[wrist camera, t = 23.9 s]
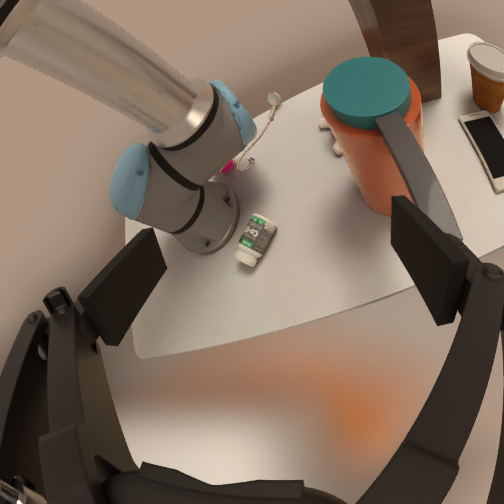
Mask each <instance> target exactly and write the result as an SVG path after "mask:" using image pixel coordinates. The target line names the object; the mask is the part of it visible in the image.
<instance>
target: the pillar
mask: <svg viewBox="0 0 504 504" xmlns="http://www.w3.org/2000/svg"><path fill="white" fill-rule="evenodd" d="M349 2H350V5H351V7H352V9H353V11H354V14H355V16H356V19H357V21H358V24H359V26H360V29H361V31H362V34H363V37H364V39H365V42H366V45H367V48H368V50H369V53H370V56H371V57H378V58H383V59H386V60H389V61H391V62H393V63H395V64H397V65H398V66H399V67H401V68H402V69H403V70H404V72H405V73H406V74H407V76H408V77H410V78H411V79H412V81H413V82H414V83H415V84H416V86H417V87H418V89H419V92H420V95H421V103H425V102H428V101H431V100H434V99H437V98H441V72H440V59H439V49H438V40H437V33H436V26H435V20H434V15H433V9H432V4H431V0H349Z"/></svg>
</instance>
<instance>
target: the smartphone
mask: <svg viewBox="0 0 504 504" xmlns="http://www.w3.org/2000/svg"><path fill="white" fill-rule="evenodd" d="M459 121H460V123H461V124H462V126H463V128H464V129H465V131H466V133H467V135H468V136H469V138H470V140H471V142H472V143H473V145H474V147H475V149H476V151H477V153H478V155H479V157H480V159H481V161H482V163H483V165H484V167H485V169H486V171H487V173H488V175H489V178H490V180H491V182H492V184H493V187H494V189H495V191H496V192H501V191H504V137H503V135H502V133H501V132H500V130H499V128H498V127H497V125H496V124H495V122H494V120H493V119H492V117H491V116H490V114H489V113H488V111H486V110H484V111H479V112H474V113H470V114H465V115H461V116H459Z"/></svg>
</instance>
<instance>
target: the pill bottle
mask: <svg viewBox="0 0 504 504" xmlns="http://www.w3.org/2000/svg"><path fill="white" fill-rule="evenodd" d="M276 227H277V225H276V224H275V223H274V222H273V221H271V220H269V219H267V218H265V217H263V216H261V215H259V214H256V213H254V214H253V215H252V216H251V218H250V220H249V222H248V224H247V226H246V228H245V230H244V232H243V234H242V236H241V238H240V240H239V242H238V244H237V245H238V248H239V249H238V250H237V251H236V252H235V254H234V256H233V257H234V258H235V259H237V260H239V261H241V262H243V263H245V264H247V265H249V266H252V267H254V265H255V263H256V262H257V259H256V258H258V257H261V256H262V254H263V252H264V250H265V248H266V246H267V245H268V243H269V241H270V239H271V237H272V235H273V233H274V231H275V229H276Z"/></svg>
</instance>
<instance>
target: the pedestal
mask: <svg viewBox="0 0 504 504" xmlns="http://www.w3.org/2000/svg"><path fill="white" fill-rule="evenodd" d="M408 78H409V82H410V88H411V95H412V103H411V107H410V109H409V111H408V112H407V114H406V115H405V116H404V117H403V119H404V121H405V122H406V124H407V126H408V127H409V129H410V130H411V132H412V134H413V135H414V137H415V139H416V140H417V142H418V144H419V146H420V147H421V149H422V151H423V153H424V136H423V116H422V103H421V95H420V92H419V89H418V87H417V86H416V84H415V83H414V82H413V81H412V79H411V78H410V77H408ZM320 107H321V111H322V114H323V116H324V118H325V120H326V122H327V124H328V126H329V127H330V129H331V131H332V133H333V135H334V137H335V139H336V141H337V143H338V145H339V147H340V149H341V151H342V153H343V155H344V157H345V159H346V161H347V164H348V166H349V168H350V170H351V172H352V174H353V177H354V179H355V181H356V183H357V186H358V188H359V190H360V193H361V195H362V197H363V199H364V201H365V202H366V204H367V205H368V206H369V207H370V208H371V209H373V210H374V211H376V212H378V213H380V214H383V215H387V216H391V196H400V195H405V196H406V197H407V198H408V199H409V200H410V201H411V202H413V201H412V198H411V196H410V194H409V192H408V189H407V187H406V185H405V183H404V180H403V178H402V176H401V174H400V172H399V170H398V168H397V166H396V164H395V162H394V160H393V158H392V156H391V154H390V152H389V150H388V148H387V146H386V144H385V142H384V140H383V139H382V137H381V135H380V133H379V131H378V130H377V129H359V128H355V127H351V126H349V125H347V124H344V123H343V122H341V121H340V120H339V119H337V118H336V117H335V115H334V114H333V113H332V111H331V109H330V107H329V105H328V103H327V101H326V99H325V97H324V94H323V93H322V96H321V101H320Z"/></svg>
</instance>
